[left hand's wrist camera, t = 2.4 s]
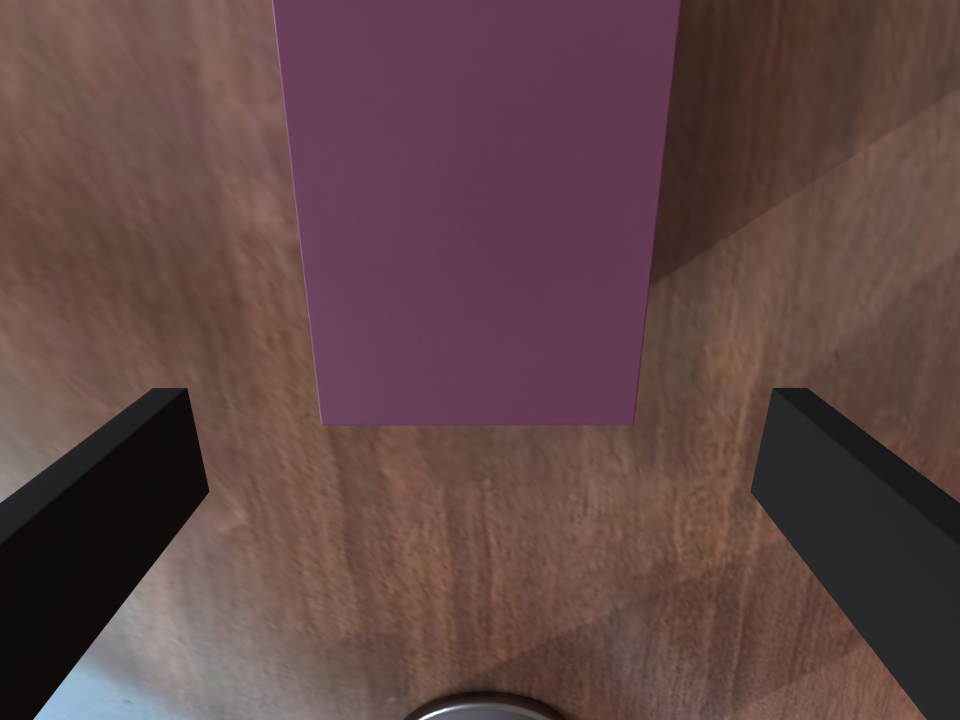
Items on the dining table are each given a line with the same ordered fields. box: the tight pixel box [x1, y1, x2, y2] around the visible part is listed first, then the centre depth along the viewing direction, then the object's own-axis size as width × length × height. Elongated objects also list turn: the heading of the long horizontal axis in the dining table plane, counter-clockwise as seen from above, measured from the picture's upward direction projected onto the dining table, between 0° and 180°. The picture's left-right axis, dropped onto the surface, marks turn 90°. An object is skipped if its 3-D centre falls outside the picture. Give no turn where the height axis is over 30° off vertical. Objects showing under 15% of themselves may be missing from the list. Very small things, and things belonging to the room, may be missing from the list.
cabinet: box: [272, 0, 682, 425], centre depth 22 cm, size 19×12×11 cm, turn 0°
